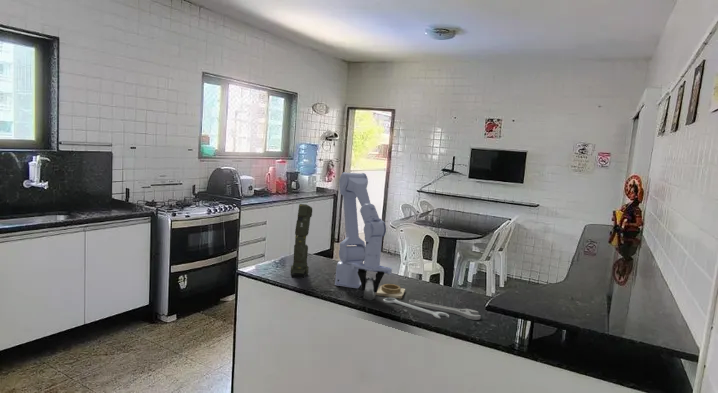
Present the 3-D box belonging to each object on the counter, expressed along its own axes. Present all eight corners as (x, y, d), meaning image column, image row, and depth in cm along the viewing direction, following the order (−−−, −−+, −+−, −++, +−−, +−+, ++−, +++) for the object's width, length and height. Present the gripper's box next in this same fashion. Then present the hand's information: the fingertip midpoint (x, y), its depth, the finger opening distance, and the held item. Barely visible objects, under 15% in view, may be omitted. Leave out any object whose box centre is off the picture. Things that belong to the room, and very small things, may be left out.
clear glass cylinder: (362, 298, 165) (364, 278, 164) (364, 295, 169) (366, 275, 168) (373, 300, 164) (375, 279, 164) (375, 296, 168) (377, 277, 167)
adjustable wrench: (407, 305, 163) (407, 300, 163) (413, 300, 169) (414, 296, 169) (477, 322, 152) (478, 316, 152) (482, 316, 158) (482, 311, 158)
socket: (375, 295, 170) (376, 288, 170) (380, 287, 180) (381, 281, 179) (401, 298, 168) (402, 292, 168) (404, 291, 178) (405, 285, 177)
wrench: (444, 323, 150) (451, 318, 155) (445, 318, 150) (451, 314, 154) (380, 302, 164) (387, 298, 168) (380, 298, 164) (388, 294, 168)
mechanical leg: (305, 278, 180) (312, 203, 184) (287, 277, 180) (294, 201, 185) (309, 277, 194) (315, 207, 198) (292, 276, 194) (298, 205, 198)
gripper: (350, 253, 163) (347, 290, 164) (390, 259, 160) (387, 296, 161) (355, 249, 169) (352, 285, 171) (394, 254, 166) (390, 291, 168)
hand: (369, 290), depth 166 cm, fingers closed on clear glass cylinder, 4 cm apart
